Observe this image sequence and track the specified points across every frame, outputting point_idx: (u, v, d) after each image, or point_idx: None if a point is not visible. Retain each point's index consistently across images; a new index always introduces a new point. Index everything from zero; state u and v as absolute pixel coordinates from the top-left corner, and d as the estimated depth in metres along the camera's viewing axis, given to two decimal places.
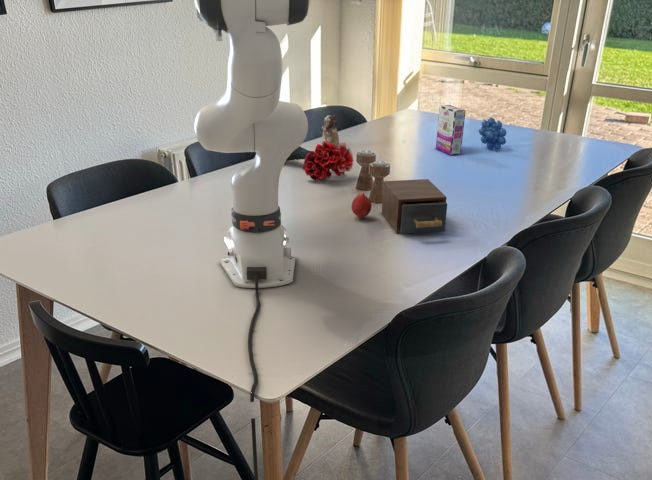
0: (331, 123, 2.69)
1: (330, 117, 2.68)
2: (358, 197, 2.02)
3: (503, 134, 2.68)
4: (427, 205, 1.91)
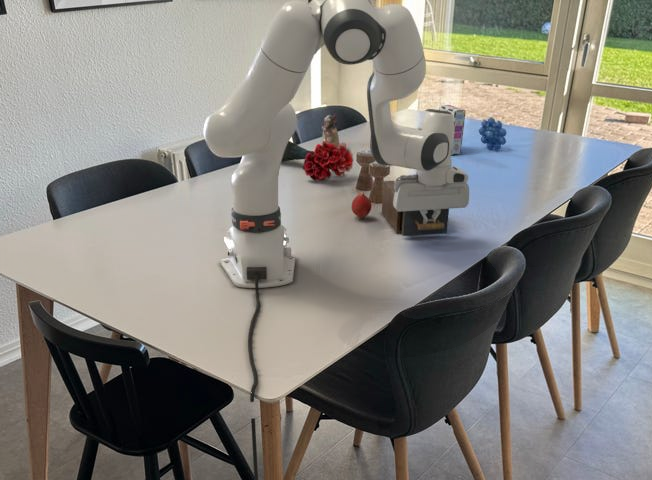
0: (331, 123, 2.69)
1: (330, 117, 2.68)
2: (358, 197, 2.02)
3: (503, 134, 2.68)
4: None
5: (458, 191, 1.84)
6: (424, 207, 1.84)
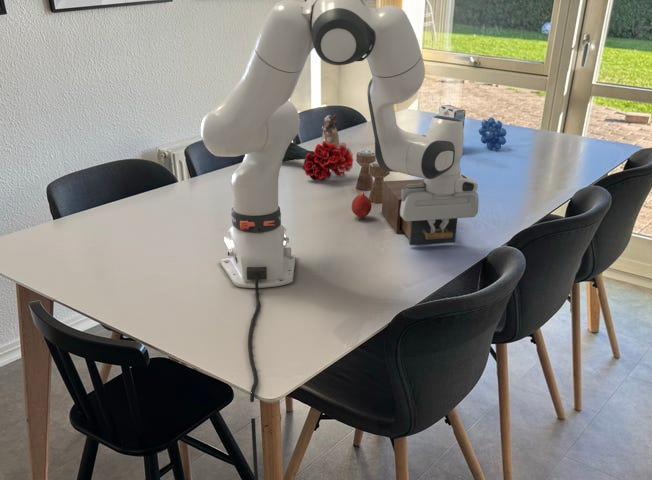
0: (331, 123, 2.69)
1: (330, 117, 2.68)
2: (358, 197, 2.02)
3: (503, 134, 2.68)
4: None
5: (467, 200, 1.79)
6: (432, 217, 1.79)
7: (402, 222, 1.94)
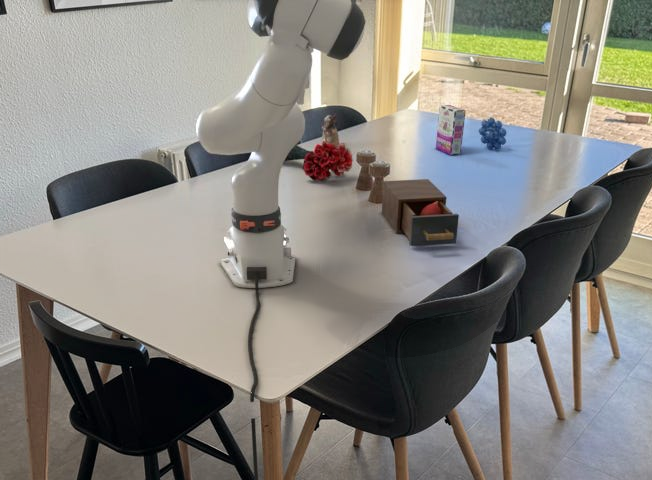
0: (331, 123, 2.69)
1: (330, 117, 2.68)
2: (432, 204, 1.91)
3: (503, 134, 2.68)
4: (438, 217, 1.83)
5: None
6: None
7: (403, 223, 1.93)
